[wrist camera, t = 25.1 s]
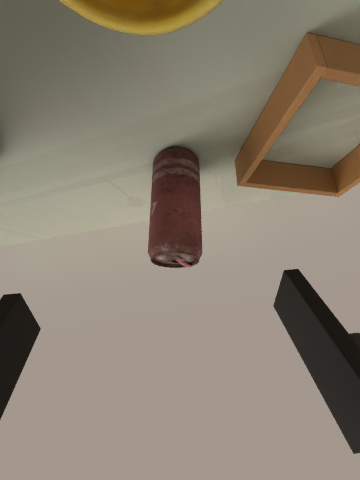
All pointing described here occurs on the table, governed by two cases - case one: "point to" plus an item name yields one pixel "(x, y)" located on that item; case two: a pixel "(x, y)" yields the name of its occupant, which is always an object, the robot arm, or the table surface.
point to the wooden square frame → (283, 109)
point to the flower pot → (142, 14)
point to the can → (175, 210)
